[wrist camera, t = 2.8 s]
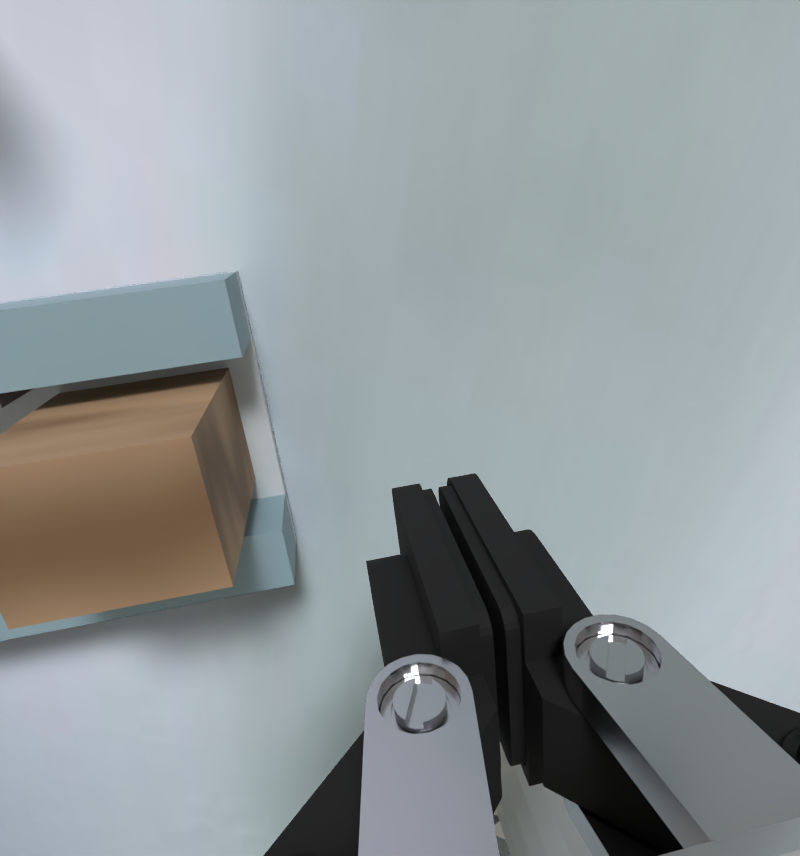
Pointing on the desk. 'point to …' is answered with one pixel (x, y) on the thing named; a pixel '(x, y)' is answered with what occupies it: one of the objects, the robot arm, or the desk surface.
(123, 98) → the desk surface
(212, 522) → the walnut block
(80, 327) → the chute
